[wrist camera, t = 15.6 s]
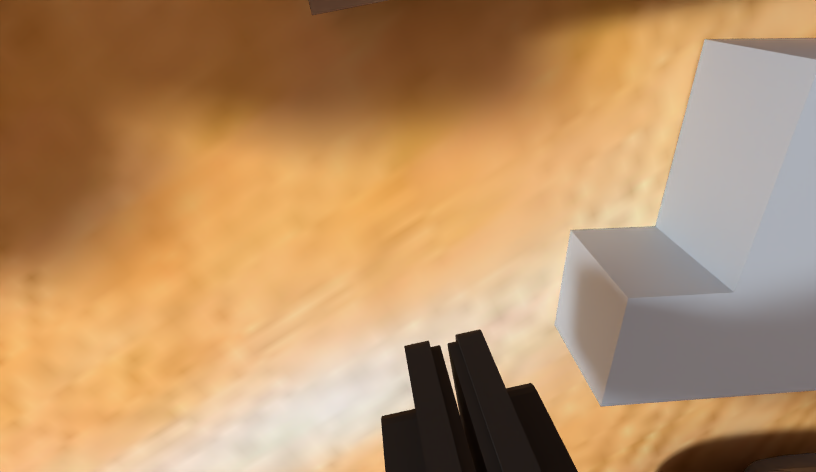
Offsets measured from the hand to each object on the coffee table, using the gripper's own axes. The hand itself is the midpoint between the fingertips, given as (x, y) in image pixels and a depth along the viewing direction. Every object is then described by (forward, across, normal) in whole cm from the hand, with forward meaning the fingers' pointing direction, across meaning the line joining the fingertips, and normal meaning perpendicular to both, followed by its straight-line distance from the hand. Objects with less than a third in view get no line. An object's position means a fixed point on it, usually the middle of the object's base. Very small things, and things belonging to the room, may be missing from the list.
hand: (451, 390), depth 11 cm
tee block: (+6, -10, +1) cm, 12 cm away
